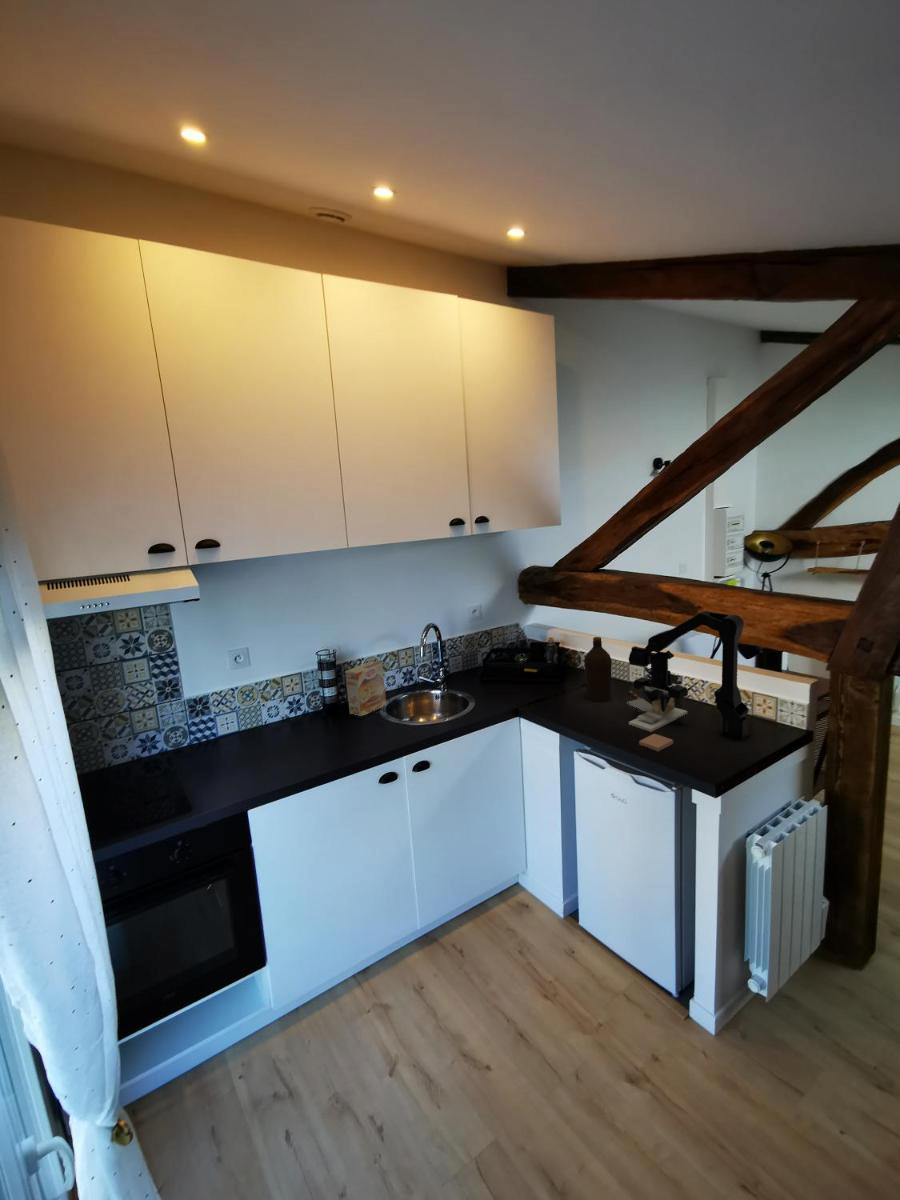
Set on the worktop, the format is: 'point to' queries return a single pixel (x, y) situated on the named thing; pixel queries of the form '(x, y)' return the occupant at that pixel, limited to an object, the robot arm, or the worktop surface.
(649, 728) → the rest board
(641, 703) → the kitchen cleaver
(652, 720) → the turner
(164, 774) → the worktop surface
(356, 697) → the coffeecake box
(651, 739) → the tile
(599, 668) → the olive oil
